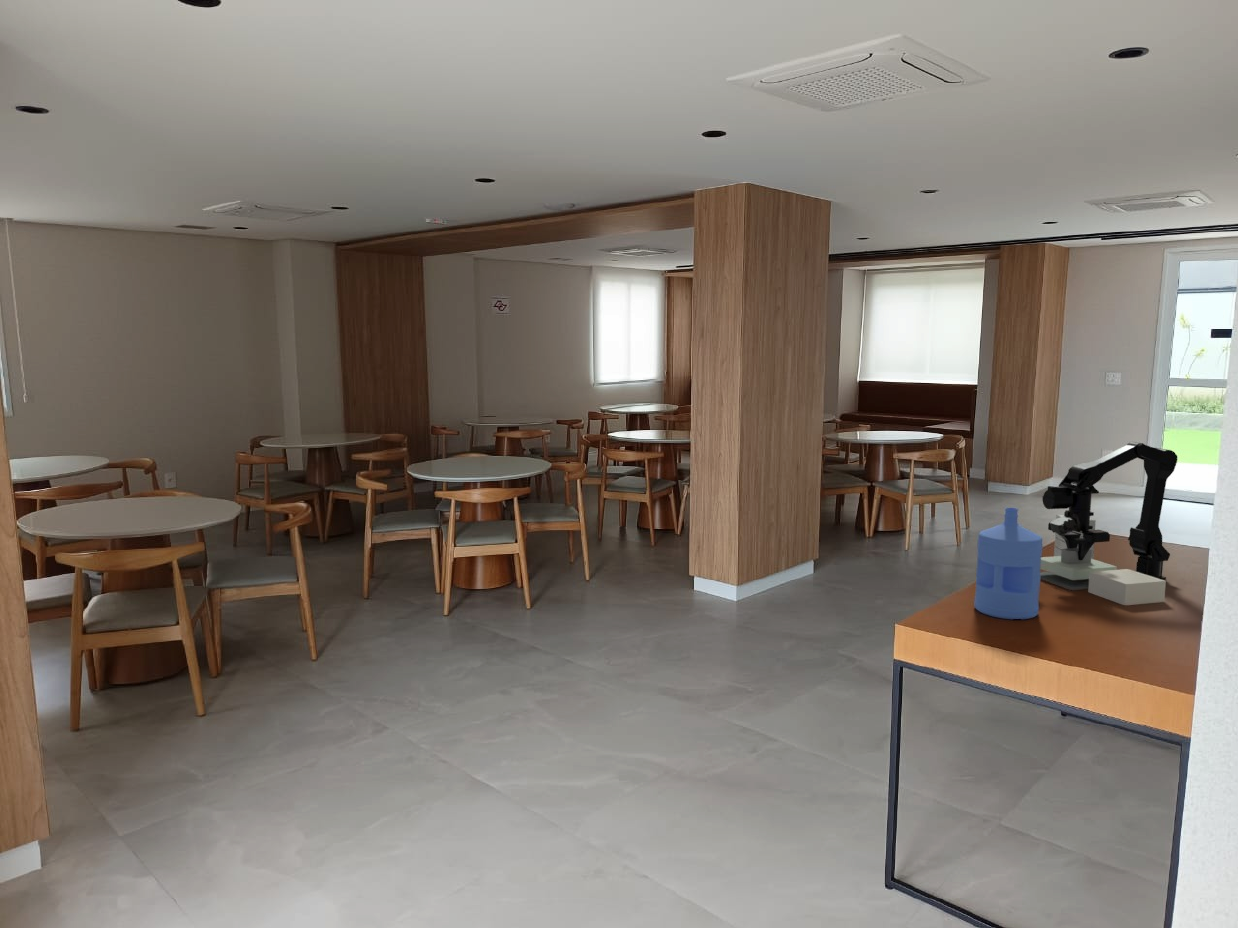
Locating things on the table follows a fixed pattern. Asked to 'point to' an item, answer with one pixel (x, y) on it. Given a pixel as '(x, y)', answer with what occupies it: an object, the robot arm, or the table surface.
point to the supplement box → (1061, 542)
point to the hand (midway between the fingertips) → (1076, 558)
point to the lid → (1073, 564)
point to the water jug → (1008, 570)
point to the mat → (1065, 581)
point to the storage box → (1127, 587)
